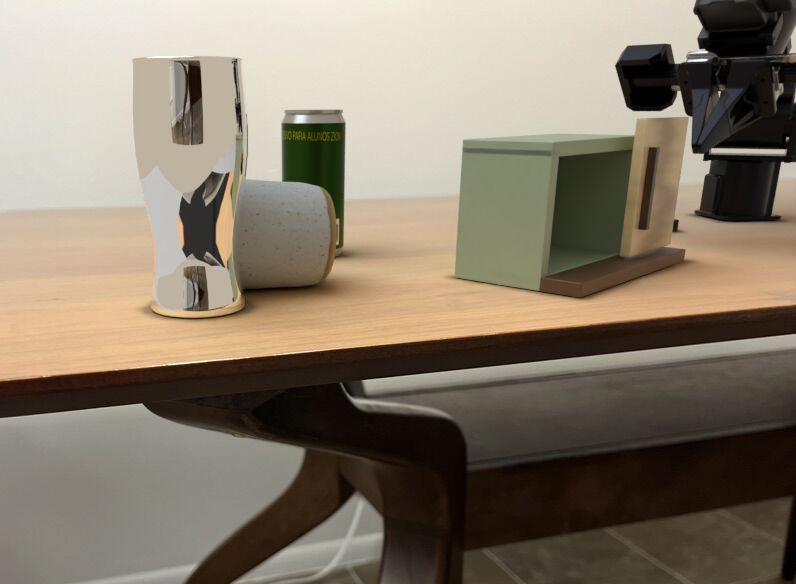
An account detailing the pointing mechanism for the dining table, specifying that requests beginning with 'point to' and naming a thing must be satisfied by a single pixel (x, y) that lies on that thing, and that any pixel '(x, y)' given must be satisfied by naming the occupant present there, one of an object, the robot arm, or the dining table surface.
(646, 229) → the door
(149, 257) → the dining table surface
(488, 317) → the dining table surface
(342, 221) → the beer can
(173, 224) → the beer glass
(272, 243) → the ceramic mug
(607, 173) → the cabinet
